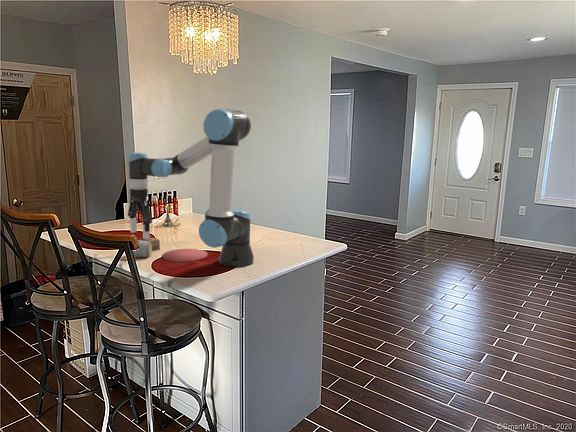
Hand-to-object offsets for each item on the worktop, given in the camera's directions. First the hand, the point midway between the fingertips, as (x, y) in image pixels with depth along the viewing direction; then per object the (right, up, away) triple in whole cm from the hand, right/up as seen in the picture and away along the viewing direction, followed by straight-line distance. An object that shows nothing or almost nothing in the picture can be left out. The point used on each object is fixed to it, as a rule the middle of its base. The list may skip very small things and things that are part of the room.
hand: (139, 235), depth 196 cm
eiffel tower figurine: (-6, +2, +67) cm, 68 cm away
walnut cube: (+2, -7, +13) cm, 15 cm away
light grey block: (0, -10, +2) cm, 10 cm away
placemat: (+19, -10, +4) cm, 22 cm away
